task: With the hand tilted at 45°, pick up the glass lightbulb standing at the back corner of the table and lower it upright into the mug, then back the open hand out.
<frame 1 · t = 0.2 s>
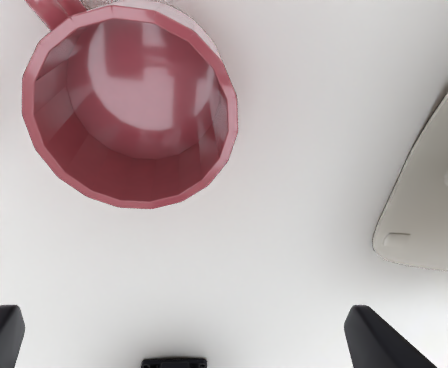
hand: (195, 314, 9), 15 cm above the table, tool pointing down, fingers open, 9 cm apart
mug: (146, 89, 21), on the table
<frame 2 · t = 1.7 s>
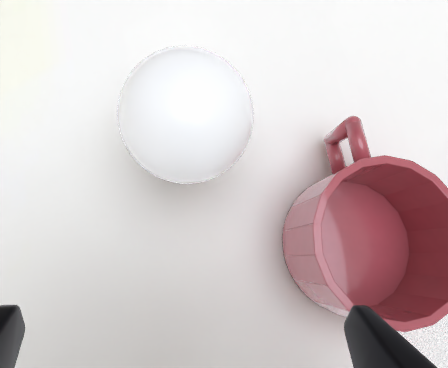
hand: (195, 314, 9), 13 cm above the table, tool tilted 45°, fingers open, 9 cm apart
lightbulb: (182, 162, 24), on the table
mug: (347, 243, 24), on the table
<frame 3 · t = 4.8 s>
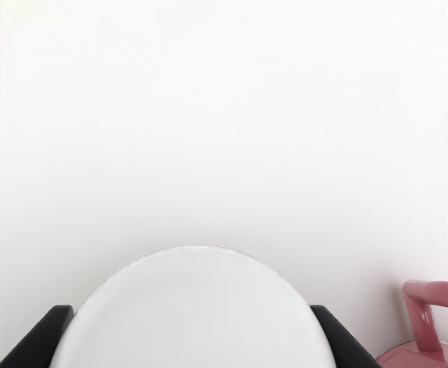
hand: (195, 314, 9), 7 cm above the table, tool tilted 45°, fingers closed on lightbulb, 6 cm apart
lightbulb: (184, 326, 16), on the table, touching gripper
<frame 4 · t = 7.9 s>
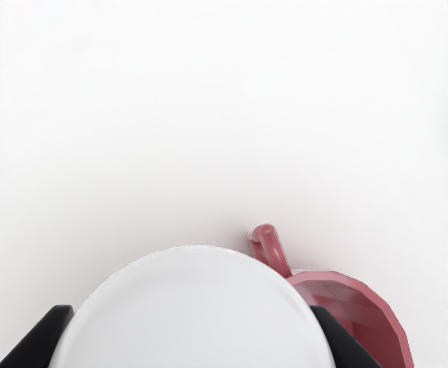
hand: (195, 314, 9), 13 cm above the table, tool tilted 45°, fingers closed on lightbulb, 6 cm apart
lightbulb: (183, 326, 16), point 6 cm above the table, touching gripper
mug: (288, 344, 22), on the table
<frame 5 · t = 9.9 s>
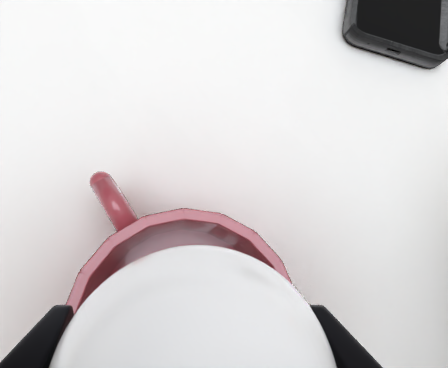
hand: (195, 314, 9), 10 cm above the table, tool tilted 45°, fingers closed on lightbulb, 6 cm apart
lightbulb: (184, 326, 16), point 4 cm above the table, touching gripper
mug: (182, 309, 19), on the table
when the fingers open (7 cm above the table, at t = 11.4 s): lightbulb stays where it is, resting on mug.
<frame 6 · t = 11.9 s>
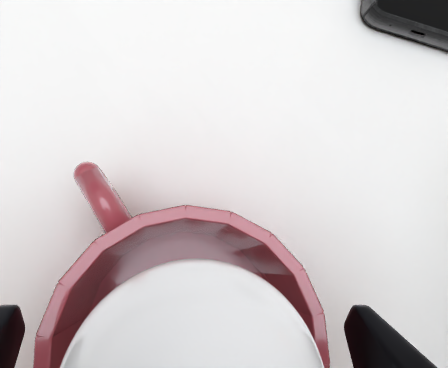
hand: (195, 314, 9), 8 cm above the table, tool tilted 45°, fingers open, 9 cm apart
lightbulb: (183, 331, 16), resting on mug
mug: (184, 323, 17), on the table
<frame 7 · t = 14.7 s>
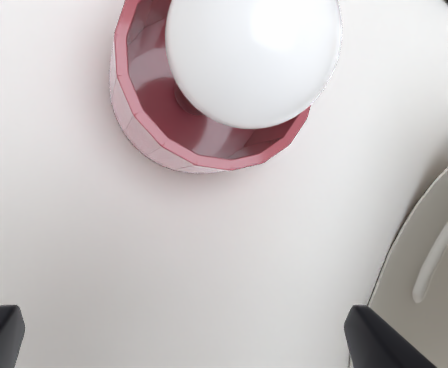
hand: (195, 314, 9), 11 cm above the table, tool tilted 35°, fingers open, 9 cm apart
lightbulb: (193, 95, 20), resting on mug
mug: (193, 93, 21), on the table
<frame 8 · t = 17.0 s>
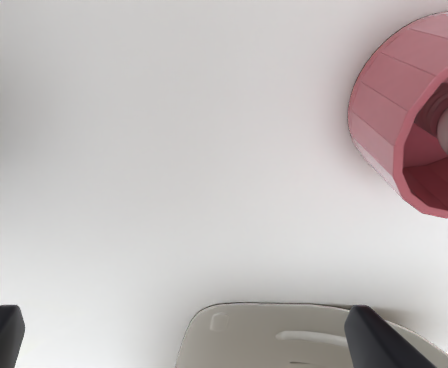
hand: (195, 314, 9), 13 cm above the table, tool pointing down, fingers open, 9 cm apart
lightbulb: (425, 101, 20), resting on mug
mug: (425, 99, 21), on the table
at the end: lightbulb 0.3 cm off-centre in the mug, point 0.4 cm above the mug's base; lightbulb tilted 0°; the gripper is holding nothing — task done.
